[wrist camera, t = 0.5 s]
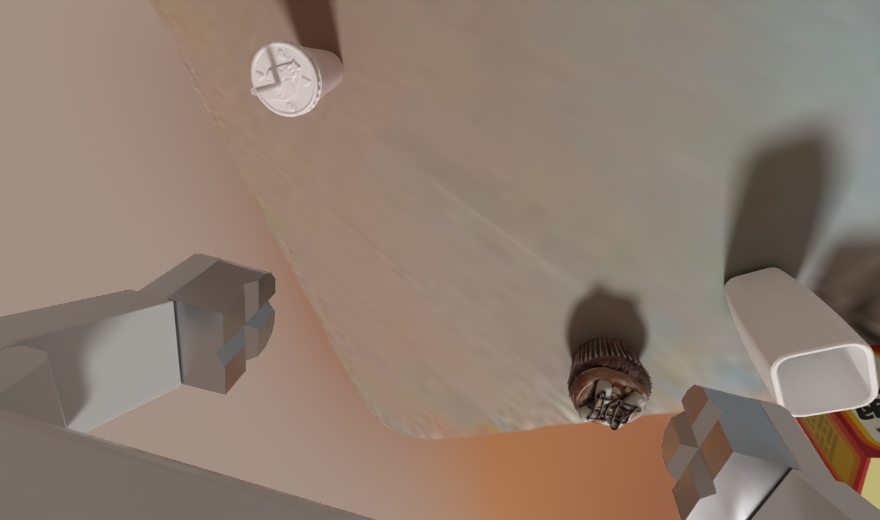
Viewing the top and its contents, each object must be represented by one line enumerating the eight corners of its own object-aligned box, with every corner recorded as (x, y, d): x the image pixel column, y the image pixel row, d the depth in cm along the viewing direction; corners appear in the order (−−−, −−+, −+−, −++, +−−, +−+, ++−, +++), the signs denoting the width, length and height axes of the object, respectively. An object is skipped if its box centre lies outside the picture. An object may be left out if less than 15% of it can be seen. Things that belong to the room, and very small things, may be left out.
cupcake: (557, 381, 63) (560, 440, 54) (576, 323, 59) (583, 377, 50) (630, 398, 62) (644, 461, 53) (655, 340, 58) (676, 398, 49)
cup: (797, 308, 52) (882, 405, 39) (725, 325, 55) (782, 421, 42) (786, 253, 50) (872, 337, 37) (711, 273, 52) (767, 359, 39)
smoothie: (287, 66, 51) (206, 83, 38) (323, 21, 48) (249, 23, 36) (330, 113, 52) (265, 143, 40) (367, 71, 49) (311, 90, 37)
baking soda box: (778, 390, 57) (854, 511, 44) (786, 347, 55) (869, 461, 41) (870, 390, 55) (982, 517, 41) (883, 345, 52) (1008, 465, 38)
